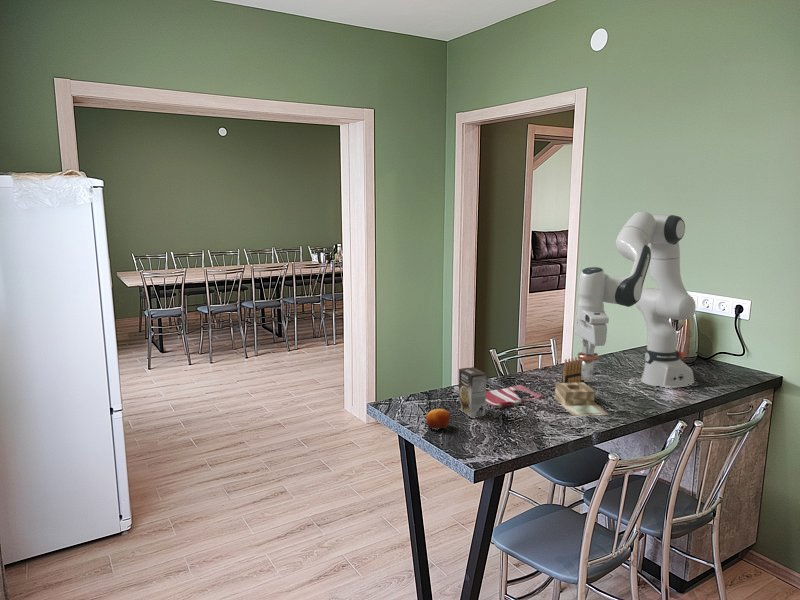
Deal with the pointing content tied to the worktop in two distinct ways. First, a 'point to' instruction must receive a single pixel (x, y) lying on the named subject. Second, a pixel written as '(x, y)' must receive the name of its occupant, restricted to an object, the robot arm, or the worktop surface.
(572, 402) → the collar stand
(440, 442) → the worktop surface
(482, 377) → the coffee box
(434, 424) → the fruit
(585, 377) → the handwheel peg
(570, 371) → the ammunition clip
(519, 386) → the dish towel
